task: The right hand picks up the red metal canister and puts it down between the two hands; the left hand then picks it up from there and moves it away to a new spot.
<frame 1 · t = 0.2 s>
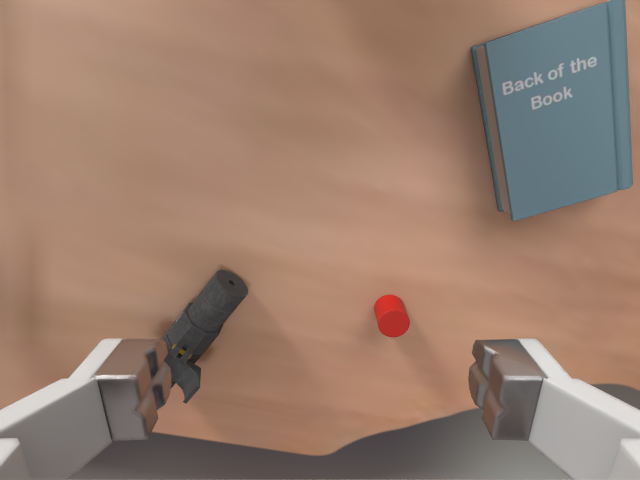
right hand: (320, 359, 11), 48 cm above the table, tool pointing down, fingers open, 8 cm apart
laser sight: (197, 322, 66), on the table
canister: (388, 307, 65), on the table
book: (544, 115, 54), on the table
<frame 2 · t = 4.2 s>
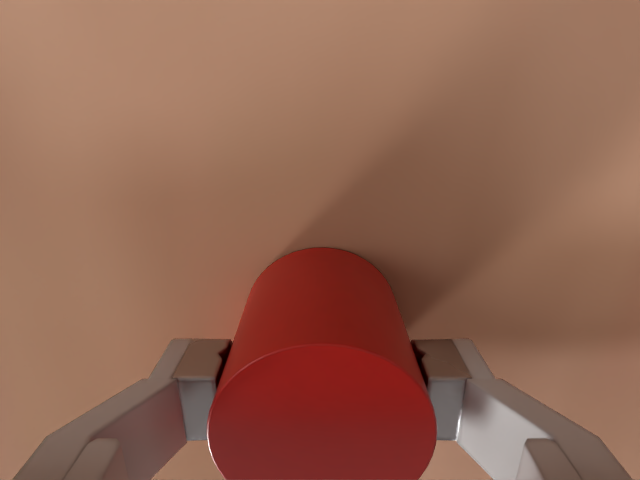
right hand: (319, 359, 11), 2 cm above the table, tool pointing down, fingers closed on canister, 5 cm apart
canister: (321, 316, 13), on the table, touching right hand
when the right hand's fingers open (3 cm above the table, at t = 16.9 s): canister stays where it is, on the table.
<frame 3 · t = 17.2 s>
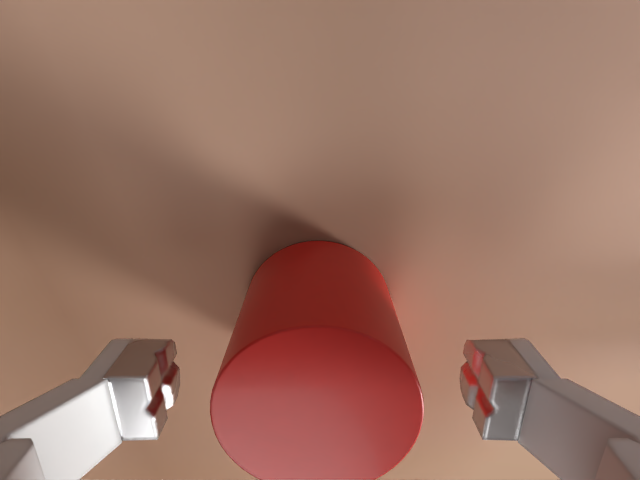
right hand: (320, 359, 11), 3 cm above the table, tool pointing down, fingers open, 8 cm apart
canister: (318, 306, 13), on the table
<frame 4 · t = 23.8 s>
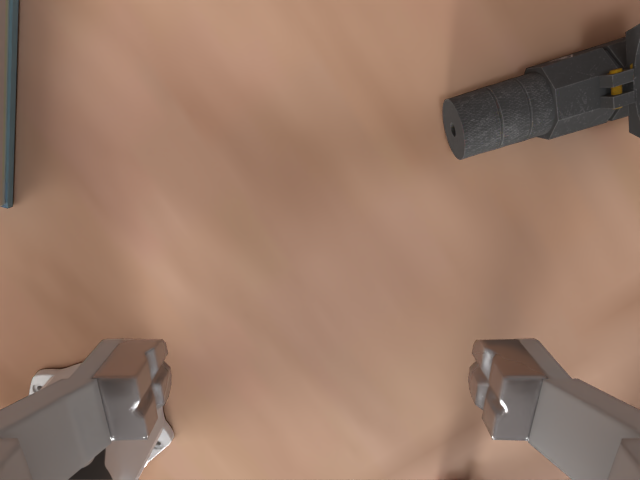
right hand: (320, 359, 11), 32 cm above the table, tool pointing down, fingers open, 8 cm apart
laser sight: (558, 90, 38), on the table
when the left hand's fingers open (2 cm above the table, at t = 30.2 s): canister stays where it is, on the table.
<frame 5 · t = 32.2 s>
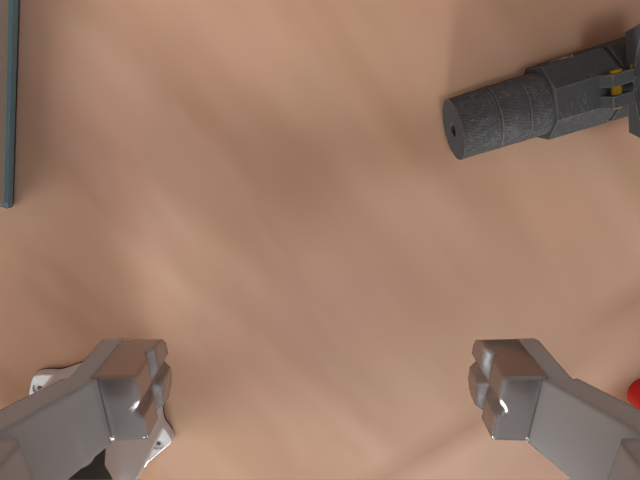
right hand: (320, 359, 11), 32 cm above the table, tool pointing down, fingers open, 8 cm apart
laser sight: (558, 90, 38), on the table
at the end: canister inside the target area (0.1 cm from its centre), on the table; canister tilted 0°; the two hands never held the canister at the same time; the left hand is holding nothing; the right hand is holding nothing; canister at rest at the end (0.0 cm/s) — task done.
